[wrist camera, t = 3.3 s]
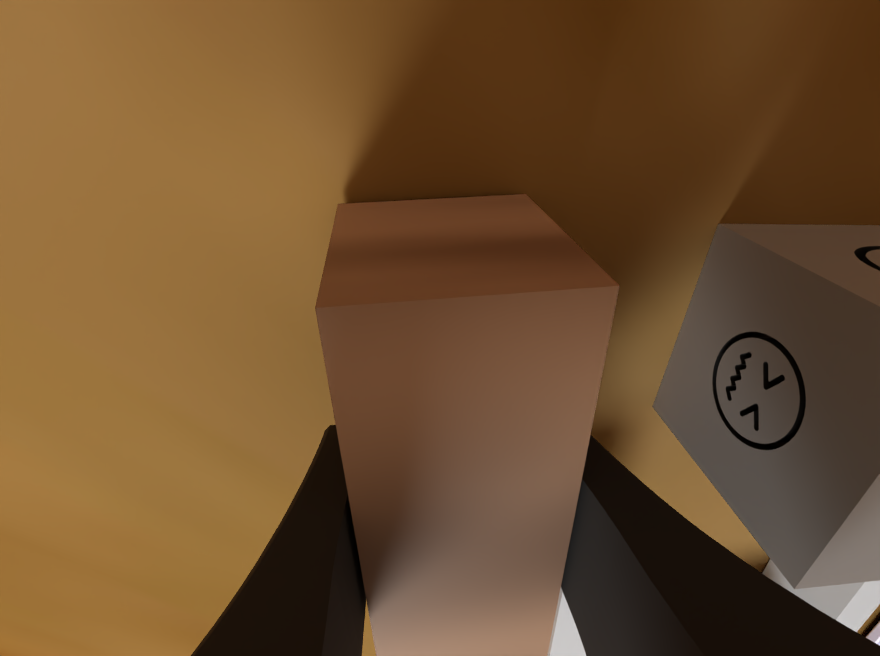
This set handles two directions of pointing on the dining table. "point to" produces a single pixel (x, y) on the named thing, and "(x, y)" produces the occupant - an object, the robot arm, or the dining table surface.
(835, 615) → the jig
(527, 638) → the brown rectangular block
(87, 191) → the dining table surface
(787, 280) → the dice cube
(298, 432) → the dining table surface
